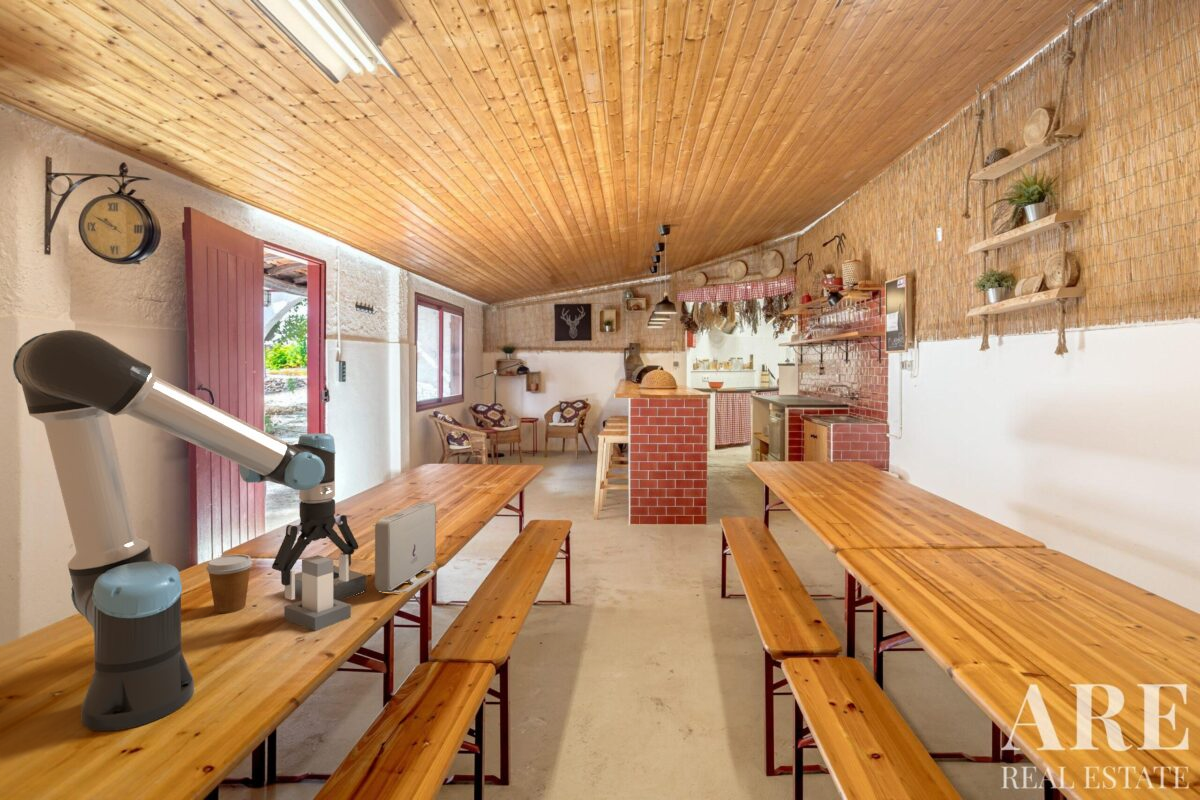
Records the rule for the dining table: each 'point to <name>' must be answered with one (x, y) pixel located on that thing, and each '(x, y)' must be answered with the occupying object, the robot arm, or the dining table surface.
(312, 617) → the holder
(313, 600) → the plug
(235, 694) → the dining table surface
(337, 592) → the port block
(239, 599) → the disposable coffee cup
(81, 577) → the robot arm
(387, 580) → the network device
